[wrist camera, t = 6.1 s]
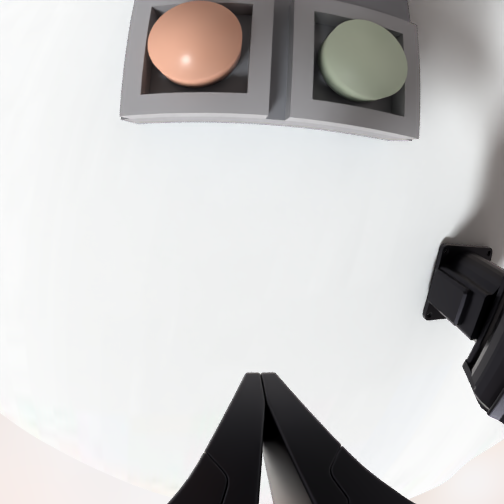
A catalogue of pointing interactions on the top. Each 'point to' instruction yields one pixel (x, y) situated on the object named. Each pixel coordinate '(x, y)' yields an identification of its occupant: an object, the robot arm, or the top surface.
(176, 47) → the terracotta button
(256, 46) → the console
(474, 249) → the robot arm
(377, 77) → the sage button
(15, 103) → the top surface
